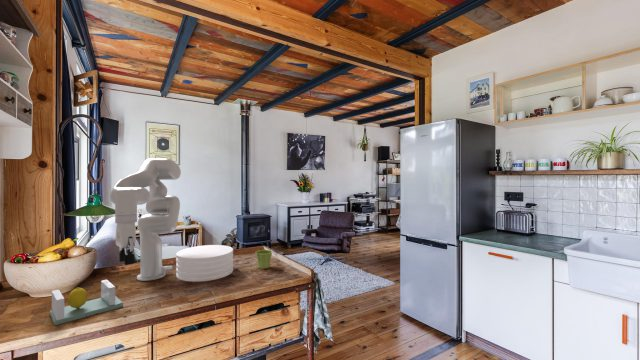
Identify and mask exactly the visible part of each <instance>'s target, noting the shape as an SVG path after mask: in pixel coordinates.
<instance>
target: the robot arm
mask: <svg viewBox="0 0 640 360" xmlns="http://www.w3.org/2000/svg"><path fill="white" fill-rule="evenodd" d="M181 174H182V173H181V167H180V165H179V164H178V163H177V162H175V161H174V160H172V159H171V158H158V157H157V158H155V157H153V158H147V159H145V160H144V161H143V162H142V164H141V165H140V166H139V168H138V169H137V170H136V172H135V173H133V174H129V175H128V176H126V177H123V178H121V179H119V180H118V181H117V183H115V185H114V187H113V188H112V190H111V192H110V196H109V198H110V201H111V203H113V204H114V215H115V216H114V219H115V220H114V222H115V224H116V227H115V245H116V247H119V262H120V263H122V262H124V265H125V266H128V265H134V264H135V251H134V250H135V246H136V245H137V244H136V243H137V237H136V236H137V235H136V232H137V231H136V223H137V228H138V233H139V240H140V242H139V243H140V244H139V245H140V246H139V247H140V250H139V251H140V252H139V253H140V255H139V256H140V257H139V258H140V260H139V261H140V265H139V266H140V274H138V275H136V279H137V281H143V282H144V281H145V282H146V281H147V282H150V281H155V280H159V279H161V278H164V277H165V276H166V271H171V270H173V265H165V266H164V265H163V242H162V241H163V240H162V238H161V237H160V235H159V234H165V233H174V232H175V231H176V229H177V226H178V220H179V215H180V209H181V208H180V207H181V202H180V198H179V197H178V196H176V195H168V194H167V193H168V188H167V187H166V185H165V183H163V182H162V181H161V180H163V181H164V180H166V181H167V180H170V181H171V180H172V181H173V180H174V181H175V180H178V179H179V178H180V177H181ZM147 187H148V188H149V190H148V189H147ZM138 205H139V206H140V205H145V211H146V212H147V213H148V214H147V213H146V214H143V215H141V216H140V217H139V218H138ZM121 212H122V213H121Z"/></svg>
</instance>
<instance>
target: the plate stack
mask: <svg viewBox="0 0 640 360" xmlns="http://www.w3.org/2000/svg"><path fill="white" fill-rule="evenodd" d="M175 255H176V258H175V261H176V262H175V264H176V265H175V266H176V268H175V270H176V273H175V274H176V275H175V277H176V279H178V280H180V281H184V282H207V281H213V280H218V279H221V278H225V277H227V276H229V275H231V274H232V273H233V271H234V247H231V246H229V245H223V244H207V245H206V244H205V245H197V246H191V247H186V248H184V249H180V250H179V251H177V252H176V254H175Z"/></svg>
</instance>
